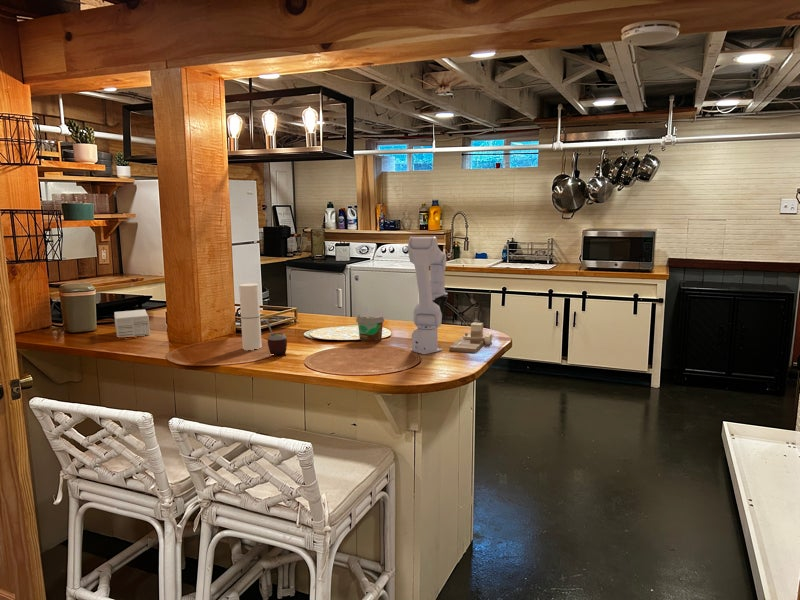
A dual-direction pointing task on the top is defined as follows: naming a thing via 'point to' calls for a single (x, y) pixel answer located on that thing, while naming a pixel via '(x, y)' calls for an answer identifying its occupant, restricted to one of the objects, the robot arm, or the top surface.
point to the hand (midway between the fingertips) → (437, 315)
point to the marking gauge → (478, 334)
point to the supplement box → (132, 323)
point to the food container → (370, 328)
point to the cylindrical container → (250, 316)
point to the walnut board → (467, 345)
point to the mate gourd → (276, 343)
